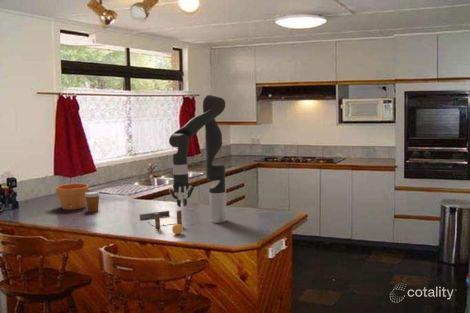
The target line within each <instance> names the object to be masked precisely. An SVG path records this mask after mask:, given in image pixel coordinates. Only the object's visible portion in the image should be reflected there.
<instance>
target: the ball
mask: <svg viewBox="0 0 470 313" xmlns="http://www.w3.org/2000/svg"><path fill="white" fill-rule="evenodd" d="M171 230H172V233H173V234H174V235H176V236H177V235H178V234H179V235H180V234H182V233H183V230H184V229H183V225H182V226H181V225H180V224H173V226H172V228H171Z"/></svg>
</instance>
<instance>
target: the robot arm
mask: <svg viewBox="0 0 470 313" xmlns="http://www.w3.org/2000/svg"><path fill="white" fill-rule="evenodd" d="M225 108H226V100H225V99H224V98H222V97H219V96H216V95H211V94H207V95H205V97H204V98H203V100H202V111H203V112H202V113H201V114H199V115H196V116H193V117H192V118H191V119H190V120H188V122H186V124H184V125H183V126H182V127H180V128H179V129H177V130H176V131H174V132H173V133H171V135H170V136H169V140H168V143H169V146H171V147H172V148H177V152H174V153H173V154H172V175H173V176H172V177H173V180H172V181H173V185H172V187H169V188H168V192H169V193H170V195H171V197H172V199H174V200H176V206H177V207H179V208H181V207H182V204H183V206H184V207H186V206H187V204H188V200H187V199H188V198H191V196H192V193H193V191H194V189H195V188H194V186H192V185H190V183H189V169H188V158H187V157H188V152H189V146H190V139H189V138H193V137H194V136H196V134H197V133H198V132H199V131H200V130H201V129H202V128H203V127H204V128H205V129H204V130H205V132H204V133H205V134H204V135H205V136H204V137H205V151H206V152H205V153H206V155H205V156H206V157H205V158H206V163H205V165H206V167H205V174H206V175H205V176H206V179H207V181H210V182H211V181H218V183H216V184H214V185H211V186H210V187H209V188H208V189H209V190H208V191H209V210H210V211H209V212H210V223H215V224H218V223H220V224H221V223H225V222H227V201H226V195H227V194H226V167H225V165H224V164H222V163H220V164H219V163H217V164H213V162H214V159H215V157H216V155H217V154H218V153H219V151H220V150H221V148H222V146H223V134H222V130H221V128H220V127H219V125H218V123H217V121H216V119H215V118H217V117H218V116H219V115H221V114H222V113H223V112H224V111H225ZM175 192H176V193H175ZM181 194H182V199H181ZM181 200H182V202H181ZM181 203H182V204H181Z"/></svg>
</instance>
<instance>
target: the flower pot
mask: <svg viewBox="0 0 470 313" xmlns="http://www.w3.org/2000/svg"><path fill="white" fill-rule="evenodd" d="M89 188H90V187H89V184H87V183H77V182H76V183H67V184H66V183H65V184H61V185H60V184H59V185H57V186H56V187H55V190H56V191H55V192H56V194H57V195H58V199H59V202H60V205H61V208H62V209H63V210H71V211H72V210H78V209H82V208H84V207H85V206H86V197H85V193H86V192H89Z"/></svg>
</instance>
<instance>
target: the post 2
mask: <svg viewBox="0 0 470 313" xmlns="http://www.w3.org/2000/svg"><path fill="white" fill-rule="evenodd" d="M182 218H183V217H182V210H181V209H179V210H176V223H177V224H180V225H181V226H182V227H183V222H182V221H183V219H182Z"/></svg>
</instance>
